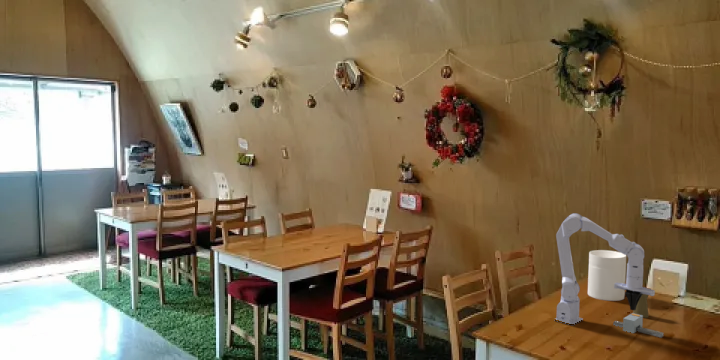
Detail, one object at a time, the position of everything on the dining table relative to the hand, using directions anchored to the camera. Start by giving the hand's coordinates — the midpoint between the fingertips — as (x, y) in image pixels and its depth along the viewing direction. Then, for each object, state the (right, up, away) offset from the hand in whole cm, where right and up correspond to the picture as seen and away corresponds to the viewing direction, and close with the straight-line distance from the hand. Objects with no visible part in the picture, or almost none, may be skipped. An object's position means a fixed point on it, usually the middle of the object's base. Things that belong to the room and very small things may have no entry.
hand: (633, 309), depth 219 cm
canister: (+9, -4, +44) cm, 45 cm away
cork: (+11, -7, +17) cm, 21 cm away
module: (0, -8, +1) cm, 8 cm away
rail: (+1, -8, -1) cm, 8 cm away
